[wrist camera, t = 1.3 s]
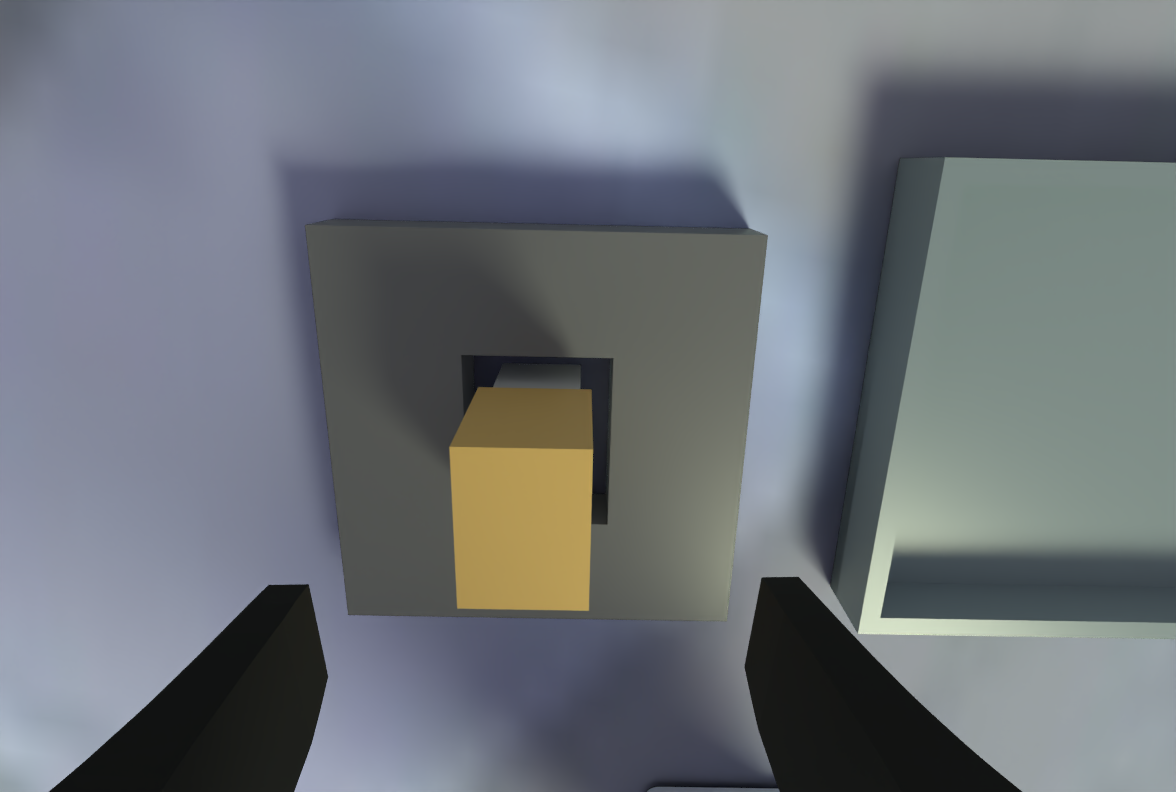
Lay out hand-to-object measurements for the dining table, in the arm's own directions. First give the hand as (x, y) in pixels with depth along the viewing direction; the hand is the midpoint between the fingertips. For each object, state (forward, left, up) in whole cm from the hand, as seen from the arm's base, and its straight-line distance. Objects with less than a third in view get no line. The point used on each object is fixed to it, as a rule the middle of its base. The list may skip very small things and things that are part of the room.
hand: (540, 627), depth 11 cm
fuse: (-1, +1, -11) cm, 11 cm away
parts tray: (0, -17, -11) cm, 20 cm away
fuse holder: (-1, +1, -11) cm, 11 cm away
